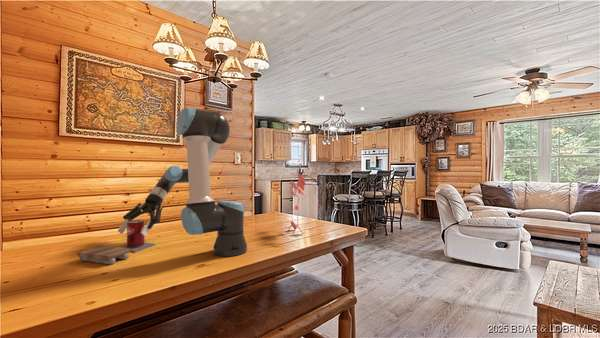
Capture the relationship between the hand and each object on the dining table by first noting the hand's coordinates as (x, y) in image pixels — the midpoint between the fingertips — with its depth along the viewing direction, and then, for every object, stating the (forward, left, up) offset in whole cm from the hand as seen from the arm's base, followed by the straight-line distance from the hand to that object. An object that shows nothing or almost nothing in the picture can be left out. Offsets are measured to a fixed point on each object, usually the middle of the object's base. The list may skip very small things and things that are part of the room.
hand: (131, 233), depth 127 cm
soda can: (0, -2, -7) cm, 7 cm away
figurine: (-68, -54, -7) cm, 87 cm away
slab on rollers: (-2, +15, -7) cm, 16 cm away
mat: (0, -2, -7) cm, 8 cm away
